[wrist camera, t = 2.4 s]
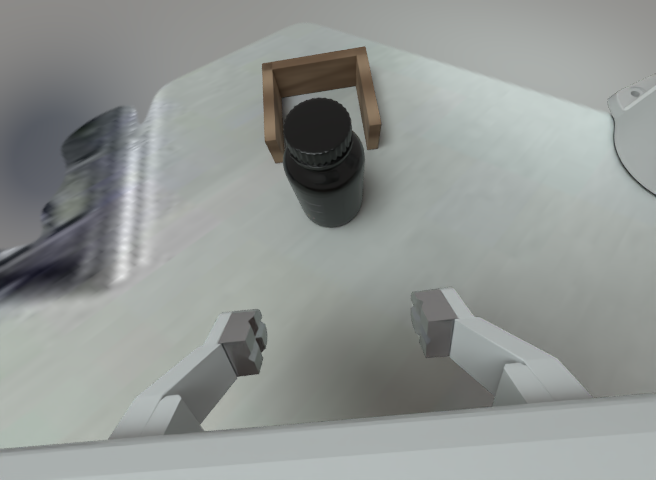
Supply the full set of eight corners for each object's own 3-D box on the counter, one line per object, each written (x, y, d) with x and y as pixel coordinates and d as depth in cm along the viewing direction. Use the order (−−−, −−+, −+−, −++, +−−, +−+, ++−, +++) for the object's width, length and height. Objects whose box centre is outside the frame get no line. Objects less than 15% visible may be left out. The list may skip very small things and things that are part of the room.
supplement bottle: (327, 164, 30) (312, 70, 18) (374, 195, 28) (389, 113, 17) (289, 206, 29) (248, 133, 17) (335, 241, 27) (324, 186, 16)
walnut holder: (377, 148, 30) (381, 123, 26) (275, 163, 31) (264, 141, 27) (363, 77, 33) (365, 46, 29) (272, 92, 34) (262, 63, 30)
